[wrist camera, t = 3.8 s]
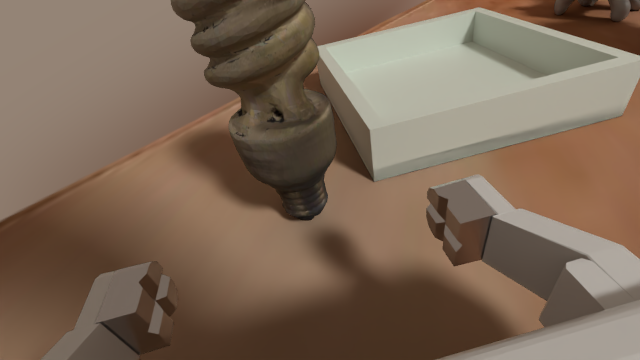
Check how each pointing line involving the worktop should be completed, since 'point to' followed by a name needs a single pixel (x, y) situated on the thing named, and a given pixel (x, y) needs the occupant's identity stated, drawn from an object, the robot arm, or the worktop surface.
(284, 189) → the light bulb
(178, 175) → the worktop surface
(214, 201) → the worktop surface
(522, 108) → the tray
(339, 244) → the worktop surface
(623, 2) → the gray elephant figurine
